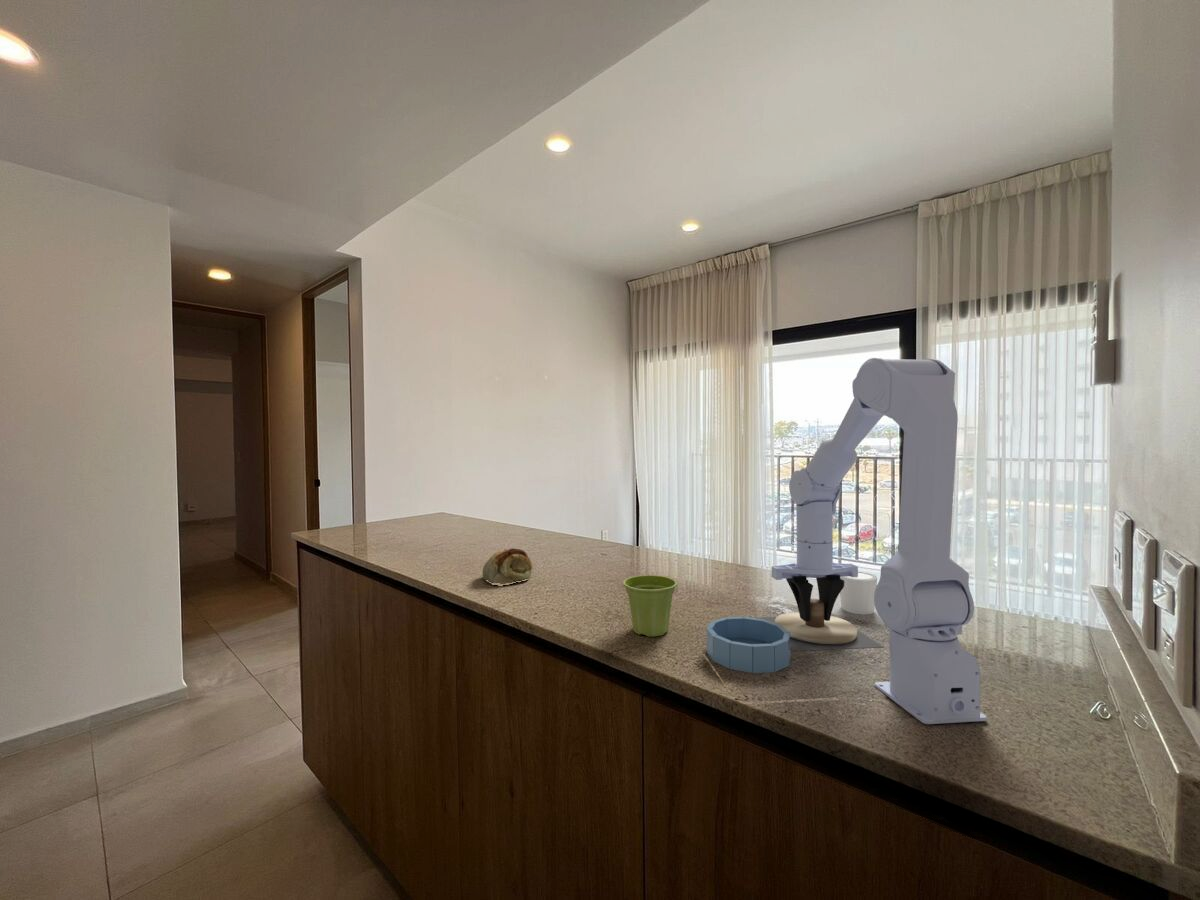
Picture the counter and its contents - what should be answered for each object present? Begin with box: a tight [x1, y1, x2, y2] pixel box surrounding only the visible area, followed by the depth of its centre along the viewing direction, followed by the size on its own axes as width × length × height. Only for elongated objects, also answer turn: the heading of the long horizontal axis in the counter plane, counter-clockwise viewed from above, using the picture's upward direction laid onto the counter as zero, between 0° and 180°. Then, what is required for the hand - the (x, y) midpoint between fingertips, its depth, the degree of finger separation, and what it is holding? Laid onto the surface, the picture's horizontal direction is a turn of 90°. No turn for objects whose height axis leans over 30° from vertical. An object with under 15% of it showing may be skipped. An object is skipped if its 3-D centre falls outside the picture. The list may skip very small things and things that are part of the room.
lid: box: [775, 598, 858, 644], centre depth 86 cm, size 13×13×5 cm
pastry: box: [482, 548, 534, 584], centre depth 123 cm, size 14×12×8 cm
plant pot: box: [622, 574, 678, 638], centre depth 88 cm, size 9×9×9 cm
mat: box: [756, 614, 885, 652], centre depth 86 cm, size 15×15×1 cm
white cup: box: [839, 571, 878, 615], centre depth 97 cm, size 7×7×7 cm
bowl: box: [706, 616, 791, 674], centre depth 77 cm, size 12×12×4 cm
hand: (814, 619), depth 86 cm, fingers closed on lid, 3 cm apart
